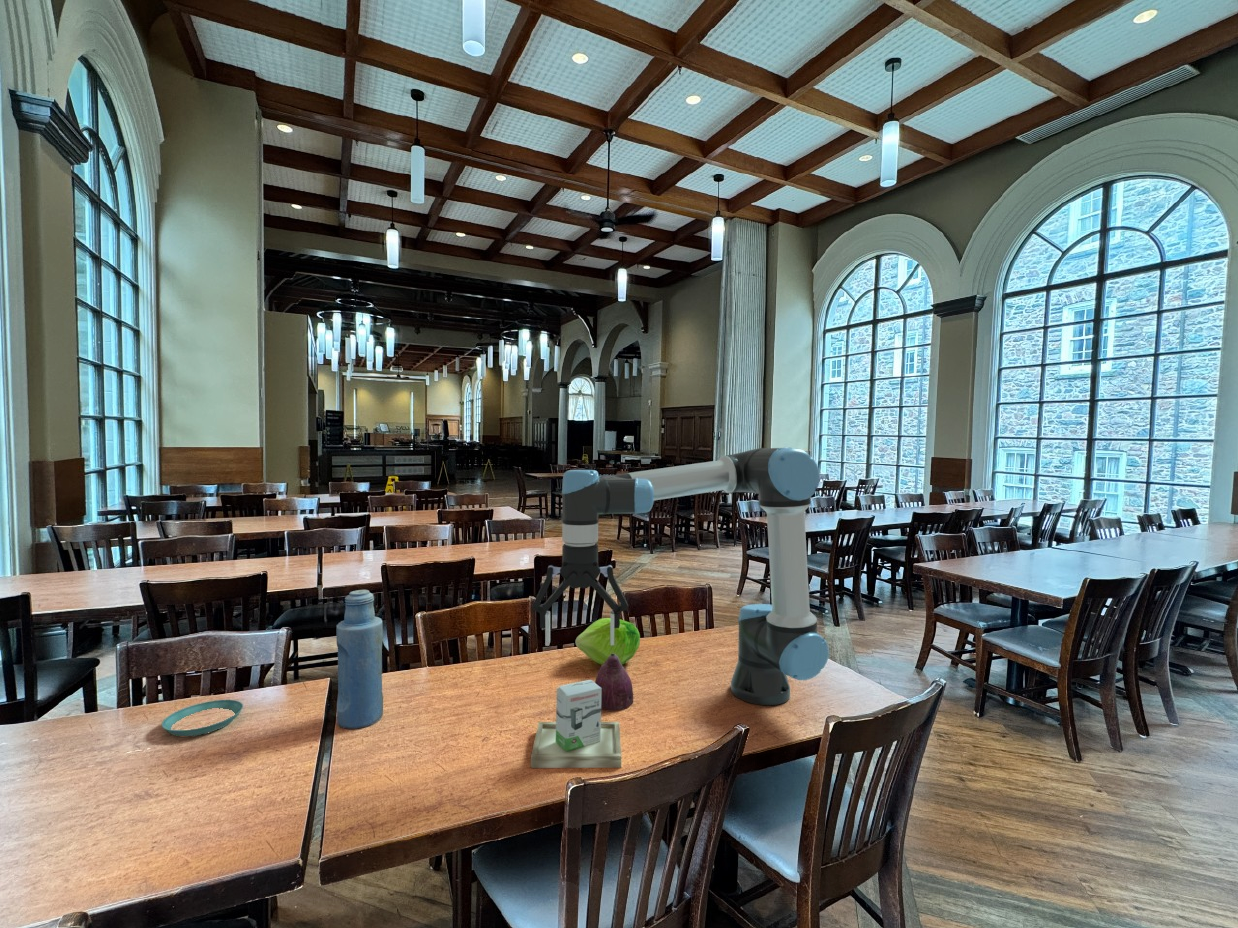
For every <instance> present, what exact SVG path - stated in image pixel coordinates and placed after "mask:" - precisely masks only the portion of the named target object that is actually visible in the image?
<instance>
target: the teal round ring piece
mask: <svg viewBox="0 0 1238 928" xmlns="http://www.w3.org/2000/svg"><path fill="white" fill-rule="evenodd" d="M212 708H219V709H220V708H223V709H229V710H232V711H233V712H234V713H235V715H234V716H232V717H230V718H228V719H226V720H224V721H222V722H219V723H216V724H213V725H210V726H207V727H202V728H198V729H191V730H171V727H172V725H173V724H175V723H176V722H177V721H179V720H181V719H182V718H184V717H186V716H189V715H191V714H194V713H196V712H200V711H202V710H207V709H212ZM243 709H244V703H242V702H241V701H239V700H235V699H218V700H217V699H216V700H209V701H204V702H201V703H197V704H196V703H195V704H193V705H189V706H187V707H184V708H182V709H180V710H177V711H174V712H173V713H171V714H170V715H168V716H167V717H166V718H164V719H163V720H162V722H161V727H162V729H164V730H165V731H166V732H167V733H169V734H171V735H173V736H175V735H177V737H179V736H193V737H197V736H196V735H199V736H202V735H201V734H204V735H206V734H205V733H208V732H211V733H213V732H212V731H214V730H217V729H219V730H220V728H221V729H223V728H225V727H227V726H228V725H229V724H230V723H232V722H233V721H234V720H235V719H237V718H238V716H239V715H240V713H241V711H242V710H243ZM226 725H227V726H226ZM224 726H225V727H224ZM222 727H223V728H222ZM217 731H218V730H217ZM214 732H215V731H214ZM208 734H209V733H208Z"/></svg>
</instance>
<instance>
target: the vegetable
mask: <svg viewBox="0 0 1238 928" xmlns="http://www.w3.org/2000/svg"><path fill="white" fill-rule="evenodd" d="M594 682H595V683H596V684H597V685H598V686H599V687H601V688H602V689H601V710H602V711H609V712H618V711H622V710H626V709H628V708H629V707H630V706H632V705H633V703H634V689H633V683H632V680H631V677H630V675H629V673H628V672H627V670H626V669H625V667H624V666H623V664H621V663H620V661H619V659H618V657H617V656H616V655H615V654H614V653H612V654H611V655H610V656H609V657H608V658H607V660H606V661H605V662H604V663H603V665H601V666H600V668H599V669H598V671H597V675H596V678H595V680H594Z"/></svg>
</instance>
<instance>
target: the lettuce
mask: <svg viewBox="0 0 1238 928" xmlns="http://www.w3.org/2000/svg"><path fill="white" fill-rule="evenodd" d="M575 645H576V647H577V649H579V650H580V651H581V652H583V653H584V654H585V656H586V657H588V659H591V661H593V662H595V663H596V664H598V665H601V666H602V665H603V663H604V662H605V661H606V660H607V658H608V657H609V656H610V655H611V654H612V653H614V654H615V655H616V656H617V657H618V659H619V661H620V663H621V664H622V665H624V664H626V663H627V662H628V661H630V660H631V659H632V658H633V657H634V656H635V654H636V653H637V651H638V650H639V647H640V645H641V634H640V632H639V629H638V628H637V627H636V625H635V624H634V623H632V622H629V621H626V620H623V619H621V618H620V626H619V628H614V645H611V642H610V617H604V618H603V617H602V618H599V619H598V620H595V621H593V623H591V624H590V625H589V626H588V627H587V628H586V629H584V630H583V632H581V633H580V634H579V635H578V636H577V637H576V639H575Z"/></svg>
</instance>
